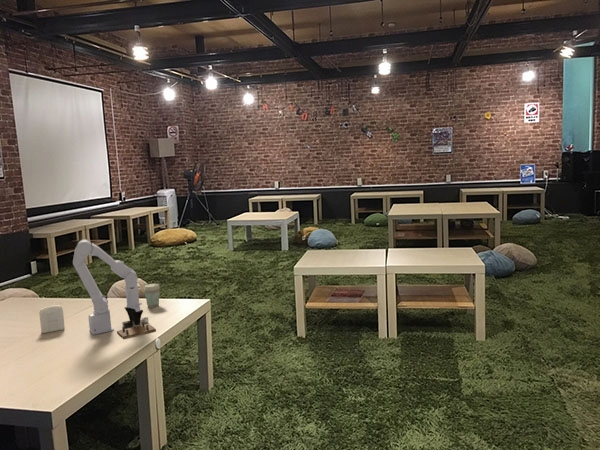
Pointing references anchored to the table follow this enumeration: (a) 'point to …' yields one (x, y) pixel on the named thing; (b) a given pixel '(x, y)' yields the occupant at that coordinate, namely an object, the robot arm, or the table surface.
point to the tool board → (136, 330)
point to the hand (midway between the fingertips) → (134, 322)
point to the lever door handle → (131, 323)
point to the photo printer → (51, 318)
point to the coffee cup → (152, 295)
